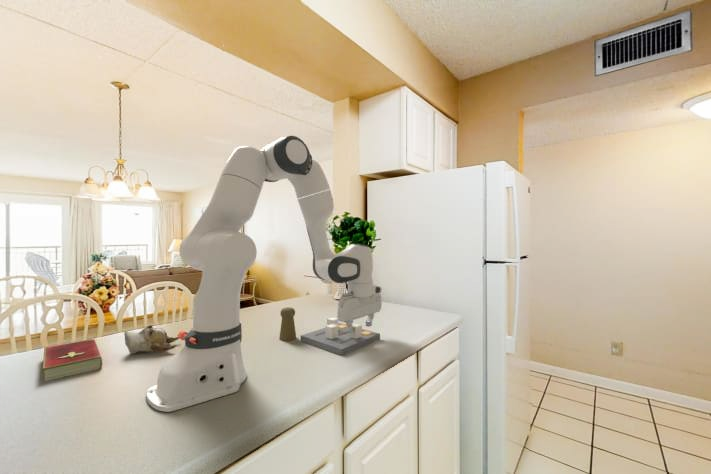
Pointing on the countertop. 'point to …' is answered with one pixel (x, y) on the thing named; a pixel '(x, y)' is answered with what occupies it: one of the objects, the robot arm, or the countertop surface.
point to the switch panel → (339, 340)
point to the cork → (287, 324)
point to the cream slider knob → (356, 331)
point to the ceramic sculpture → (148, 340)
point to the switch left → (332, 321)
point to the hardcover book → (71, 359)
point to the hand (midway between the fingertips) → (360, 329)
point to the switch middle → (331, 331)
